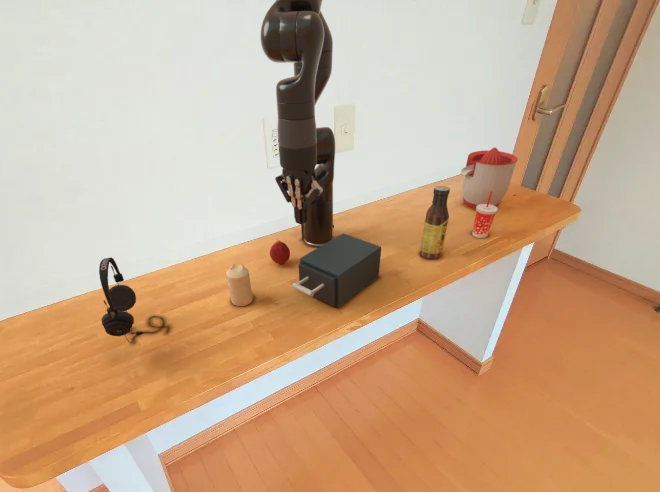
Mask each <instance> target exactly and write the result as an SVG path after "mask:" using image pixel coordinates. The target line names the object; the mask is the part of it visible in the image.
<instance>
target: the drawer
mask: <svg viewBox="0 0 660 492" xmlns="http://www.w3.org/2000/svg"><path fill="white" fill-rule="evenodd" d="M298 280H299V281H297V282H293V283H292V284H291V287H292V288H293V289H295V290H297V291H298V292H300V293H302V294H305V295H307V296H308V297H311V298H312V297H314V298H316V299H318V300H320V301H322V302H323V303H326V304H328V305H330V306H332V307H336V306H335V305H336V300H337V278H336V277H334V276H332V275H329V274H328V273H326V272H324V271H322V270H319V269H317V268H315V267H313V266H310V265H308V264H304V263H302V262H301V263H300V262H299V263H298Z"/></svg>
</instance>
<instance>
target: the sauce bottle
mask: <svg viewBox="0 0 660 492" xmlns="http://www.w3.org/2000/svg"><path fill="white" fill-rule="evenodd" d="M450 189H451V188H450V187H449V186H446V185H437V186H436V185H435V186H434V188H433V198H432V201H431V202H432V203H431V205H430V206H429V208H428V209H427V211H426V212H425V219H424V223H423V224H424V225H423V230H422V236H421V242H420V243H421V244H420V255H421V256H422V257H423V258H425V259H430V260H435V259H438V258H440V257H441V256H442V253H443V250H444V244H445V239H446V236H447V235H446V234H447V230H448V225H449V224H448V223H449V220H450V214H449V210H448V199H449V194H450V193H451V192H450V191H451V190H450Z"/></svg>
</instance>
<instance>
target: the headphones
mask: <svg viewBox="0 0 660 492" xmlns="http://www.w3.org/2000/svg"><path fill="white" fill-rule="evenodd" d="M110 264H111V265H110ZM109 267H110V268H111V270H112V272H113V280H114V282H115V283H117V284H116V285H113V286H112V287H110V285H109ZM115 272H116V273H115ZM98 275H99V280H100V285H101V288H102V291H103V293H104V297H105V299H106V300H105V299H104V300H103V303H104V305H105V306H106V313H105V314H103V316H102V317H101V325H102V327H103V329H104V330H105V331H104V332H105V333H106V334H108V335H110V336H111V337H123V336H124V337H125V339H126V340H127V342H128V343H129V344H132V343H133V342H134V338H135V337H136V336H139V335H142V334H144V333H146V334H153V333H157V332H159V331H161V329H163V328H167V330H166V332H165V333H167V332H168V331H169V329H170V327H169V326H164V324H162V325H161V326H160V328H159V330H156V331H151V332H148V331H134V332H133V334H135V335H134V336H133V337H132V341H129V339H128V338H127V334H130V333H131V331H132V330H133V325H134V324H135V318H134V316H133V314H131V313H129V312H128V311H129V310H131V309H132V308H134V306H135V305H136V303H137V296H136V292H135V291H134V290H133V288H131V287H130V286H128V285H126V284H120V283H122V282H124V281H125V278H124V276H123V273H121V272H120V269H119V267H118V265H117V262H116V260H115V259H114V258H113V257H111V256H110V257H106V258H105V257H104V258H102V260H101V261H100V262H99V267H98ZM151 318H157V316H155V315H154V316H151V317H150V319H151ZM160 319H161V321H164V319H163V318H162V317H160ZM148 325H149V326H150V327H153V328H155V326H154V325H151V323H148Z"/></svg>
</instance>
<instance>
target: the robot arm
mask: <svg viewBox="0 0 660 492" xmlns="http://www.w3.org/2000/svg"><path fill="white" fill-rule="evenodd" d="M322 4H323V0H275V1H274V3H273V4H272V5H271V6H270V8H269V9H268V10H267V12H266V14H265V15H264V17H263V19H262V23H261V27H260V45H261V48H262V52H263V53H264V55H265V56H266V57H267V59H268V60H269V61H271V62H273V63H277V64H281V63H282V64H283V63H285V64H286V63H287V64H288V63H293V76H291V77H286V78H283V79H280V80H279V81H278V82H277V83H276V87H275V97H276V111H277V142H278V154H279V155H278V157H279V165H280V167H281V168H282V169H281V174H280V175H277V176H275V183H276V184H277V186H278V188H279V189H280V191H281V193H282V196H283V198H284V200H285V201H286V202H287V203H288V204H289V203H291V206H292V208H293V217H294V220H295V221H294V222H295V223H296V224H298V225H300V227H301V228H300V229H301V240H303V242H304V244H305V245H307V246H309V247H312V248H313V247H314V248H318V247H320V246H322V245H324V244H325V243H327V242H329V241H330V240H332V239H334V229H335V225H334V180H335V179H334V178H335V162H336V161H335V159H336V138H335V134H334V131H333V130H332V128H331V127H329V126H322V127H317V121H316V115H315V114H316V105H317V103H318V101H319V99H320V97H321V96H322V94H323V92H324V90H325V88H326V86H327V84H328V83H329V80H330V78H331V75H332V71H333V51H334V50H333V48H334V40H333V35H332V32H331V30H330V28H329V25H328V22H327V21H326V19H325V17H324V15H323V13H322V11H321V9H322Z"/></svg>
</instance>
